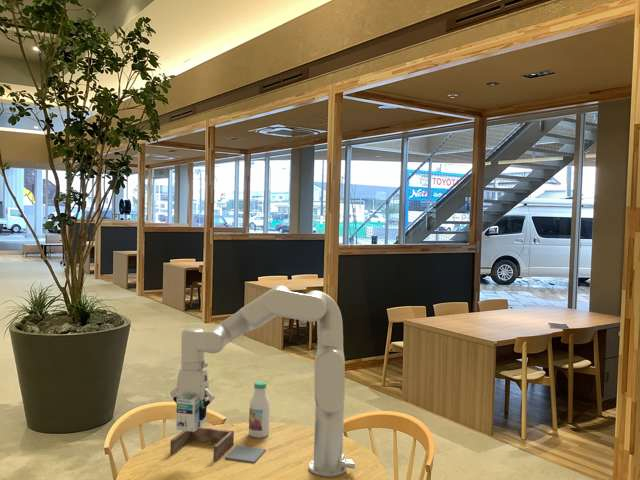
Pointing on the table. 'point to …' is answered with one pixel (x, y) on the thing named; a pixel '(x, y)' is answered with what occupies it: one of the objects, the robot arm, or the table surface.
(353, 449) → the table surface
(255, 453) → the pad
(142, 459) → the table surface
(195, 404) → the light bulb box
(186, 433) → the cubby
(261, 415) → the milk bottle
